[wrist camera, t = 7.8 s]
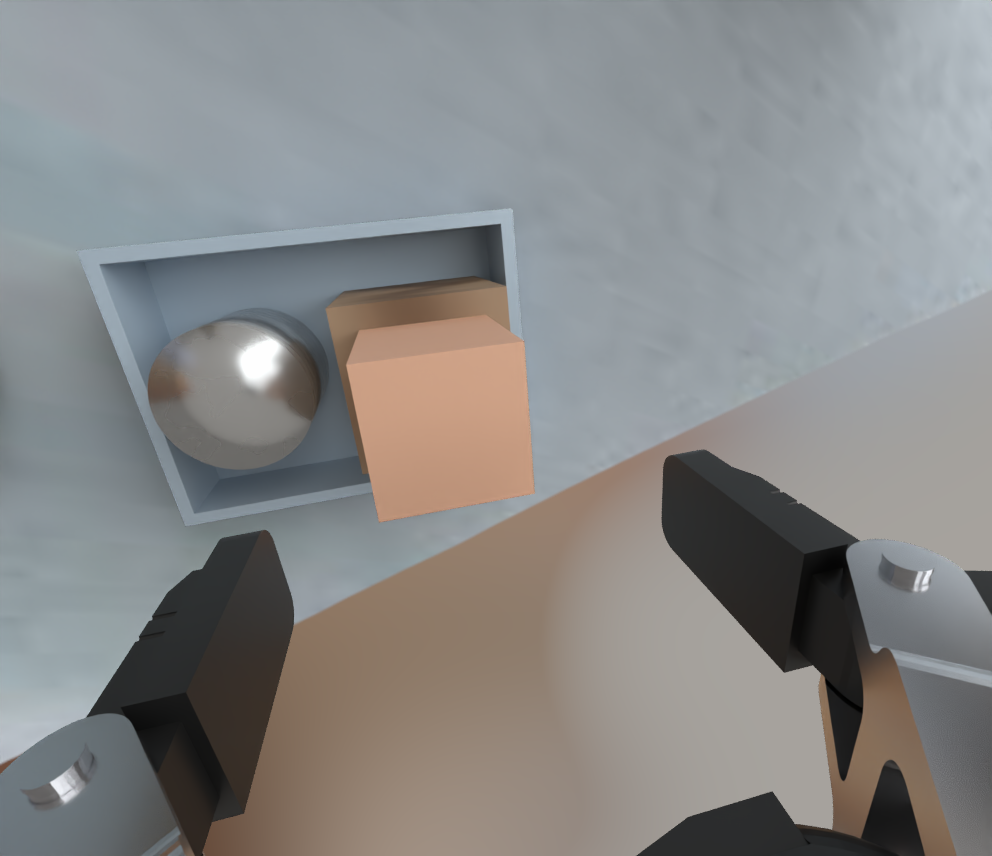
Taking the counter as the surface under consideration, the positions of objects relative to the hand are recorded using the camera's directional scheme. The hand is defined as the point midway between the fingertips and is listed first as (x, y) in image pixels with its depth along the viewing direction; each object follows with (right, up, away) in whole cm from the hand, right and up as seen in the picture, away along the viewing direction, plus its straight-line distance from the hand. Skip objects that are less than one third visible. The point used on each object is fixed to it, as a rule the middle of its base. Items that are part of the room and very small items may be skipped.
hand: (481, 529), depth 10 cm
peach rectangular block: (-2, +4, +10) cm, 11 cm away
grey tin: (-12, +5, +16) cm, 21 cm away
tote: (-8, +6, +17) cm, 20 cm away
